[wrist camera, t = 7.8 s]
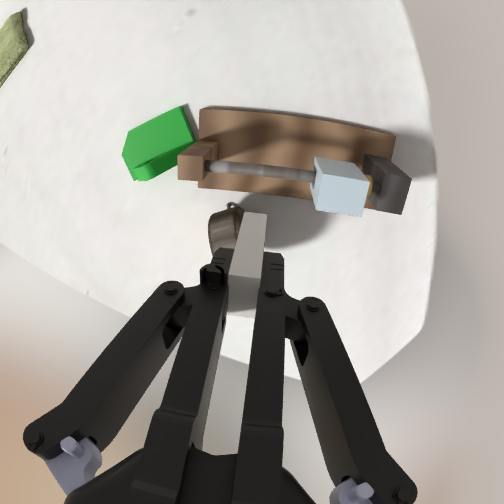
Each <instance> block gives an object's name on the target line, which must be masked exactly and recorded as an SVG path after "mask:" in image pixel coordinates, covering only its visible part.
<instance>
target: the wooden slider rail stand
mask: <svg viewBox="0 0 504 504" xmlns="http://www.w3.org/2000/svg"><path fill="white" fill-rule="evenodd" d="M395 138H396V137H395V136H393V135H390V134H386V133H382V132H378V131H374V130H370V129H366V128H361V127H356V126H352V125H347V124H342V123H336V122H331V121H325V120H319V119H313V118H307V117H300V116H292V115H284V114H275V113H266V112H255V111H241V110H224V109H200V112H199V140H198V141H196V142H195V143H193V144H192V145H191V146H189V147H188V148H187V149H185V150H184V151H183V152H181V153H180V154H179V155H178V180H190V181H198V188H208V189H220V190H231V191H241V192H251V193H260V194H269V195H278V196H286V197H294V198H302V199H309V200H313V197H312V193H311V189H310V183H315V179H316V173H317V171H313V165H314V158H315V157H321V158H327V159H333V160H339V161H344V162H350V163H354V164H355V165H356V166H357V167H358V168H359V169H360V171H361V172H362V173H363V174H364V175H365V177H366V178H367V179H368V180H369V181H370V184H369V188H368V192H367V196H366V200H365V204H364V208H368V209H374V210H377V211H383V212H388V213H394V214H399V215H401V214H402V211H403V208H404V205H405V201H406V198H407V194H408V191H409V187H410V184H411V180H412V179H411V178H410V177H409V176H407V175H406V174H405V173H404V172H403V171H402V170H400V169H399V168H398V167H397V166H395V165H394V164H393V163H392V162H391V157H392V153H393V148H394V143H395Z"/></svg>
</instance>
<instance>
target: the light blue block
mask: <svg viewBox="0 0 504 504" xmlns="http://www.w3.org/2000/svg"><path fill="white" fill-rule="evenodd" d="M313 171H317V173H316V179H315V183H310V189H311V193H312V197H313V201H314V204H315V208H316V210H317V211H324V212H331V213H338V214H345V215H352V216H358V217H361V216H362V212H363V208H364V204H365V200H366V196H367V192H368V188H369V184H370V181H369V180H368V179H367V178H366V177H365V175H364V174H363V173H362V172H361V171H360V169H359V168H358V167H357V166H356V165H355V164H354V163H350V162H344V161H339V160H333V159H327V158H321V157H315V158H314V165H313Z"/></svg>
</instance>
